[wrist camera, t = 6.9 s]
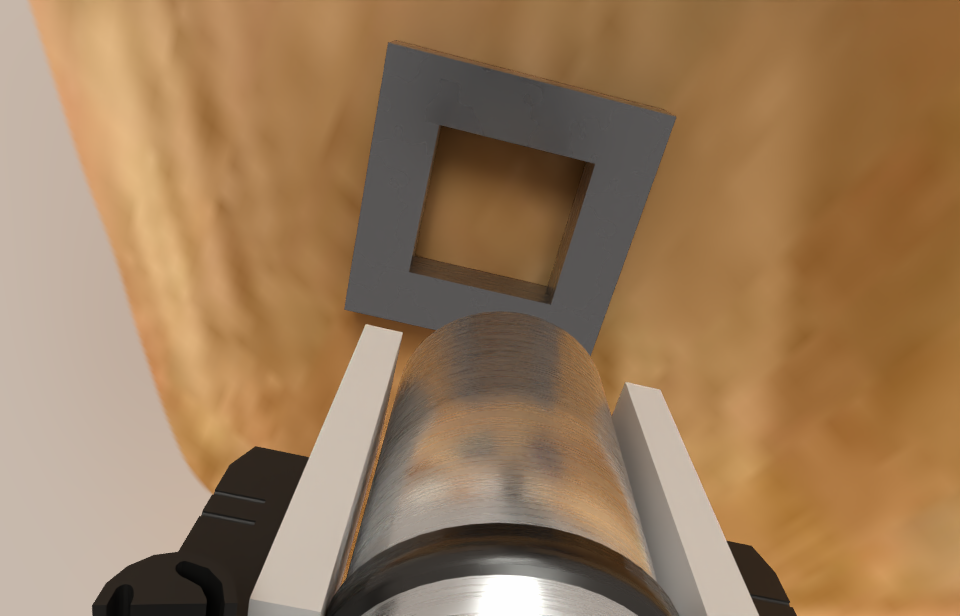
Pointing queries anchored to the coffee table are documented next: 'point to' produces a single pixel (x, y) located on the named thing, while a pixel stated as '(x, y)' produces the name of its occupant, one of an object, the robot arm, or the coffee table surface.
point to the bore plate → (516, 119)
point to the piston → (501, 486)
